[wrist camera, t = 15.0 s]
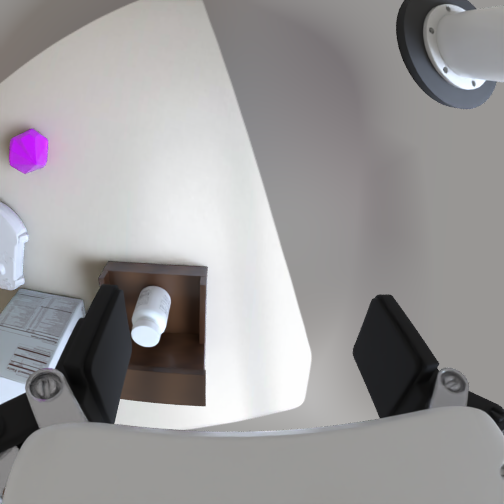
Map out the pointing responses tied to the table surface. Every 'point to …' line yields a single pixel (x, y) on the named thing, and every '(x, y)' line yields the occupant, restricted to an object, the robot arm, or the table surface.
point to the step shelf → (166, 333)
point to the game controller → (11, 248)
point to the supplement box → (33, 336)
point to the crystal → (28, 151)
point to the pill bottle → (150, 316)
